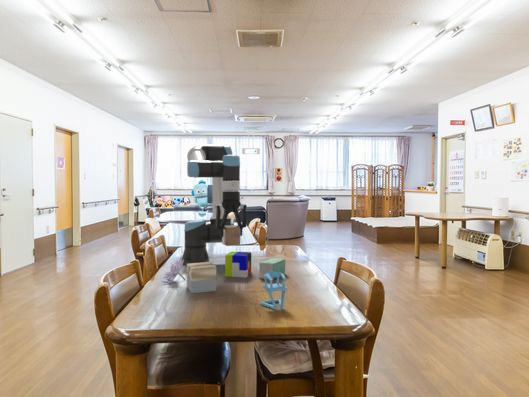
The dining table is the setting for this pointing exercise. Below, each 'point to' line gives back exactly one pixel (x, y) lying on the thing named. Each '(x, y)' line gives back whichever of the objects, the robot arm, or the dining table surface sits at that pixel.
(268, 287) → the chair
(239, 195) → the robot arm
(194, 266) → the tower slab upper
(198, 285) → the tower slab lower
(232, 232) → the walnut block
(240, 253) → the puzzle toy
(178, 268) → the water lily
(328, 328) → the dining table surface
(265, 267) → the box
